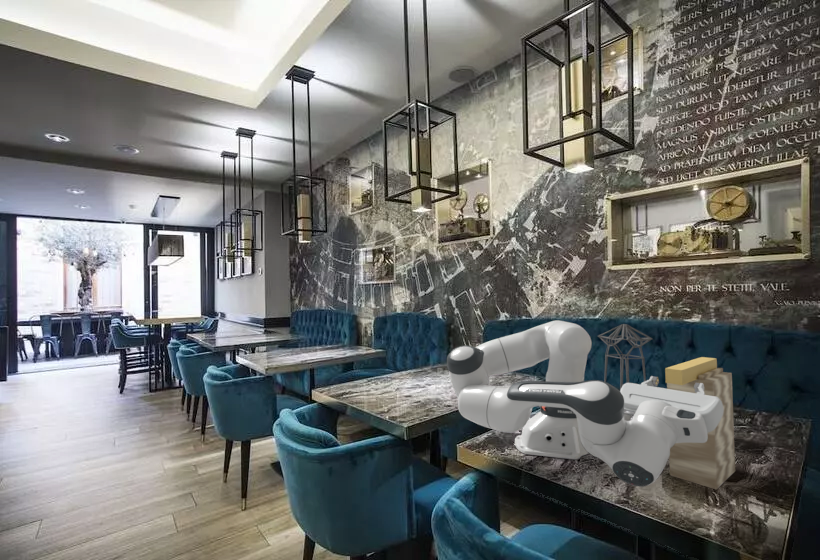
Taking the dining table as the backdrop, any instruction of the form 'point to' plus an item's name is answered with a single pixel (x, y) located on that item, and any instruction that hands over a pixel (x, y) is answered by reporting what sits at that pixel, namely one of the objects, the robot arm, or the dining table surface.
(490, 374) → the robot arm
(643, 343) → the geometric lantern
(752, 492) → the dining table surface
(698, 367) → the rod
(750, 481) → the dining table surface
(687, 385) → the plinth
